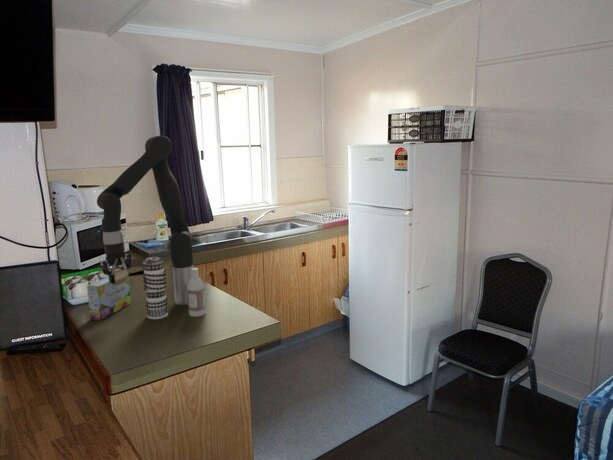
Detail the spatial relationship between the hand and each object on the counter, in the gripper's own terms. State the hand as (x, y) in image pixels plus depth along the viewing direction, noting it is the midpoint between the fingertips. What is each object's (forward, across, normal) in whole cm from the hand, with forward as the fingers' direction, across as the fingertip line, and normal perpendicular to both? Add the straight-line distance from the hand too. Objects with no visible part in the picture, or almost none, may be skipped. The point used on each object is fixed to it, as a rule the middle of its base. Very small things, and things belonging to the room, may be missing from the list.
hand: (118, 281), depth 181 cm
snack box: (+16, +2, +10) cm, 19 cm away
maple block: (+1, 0, 0) cm, 1 cm away
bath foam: (+16, +16, -26) cm, 35 cm away
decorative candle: (+16, +8, -12) cm, 22 cm away
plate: (+16, +54, +58) cm, 81 cm away
